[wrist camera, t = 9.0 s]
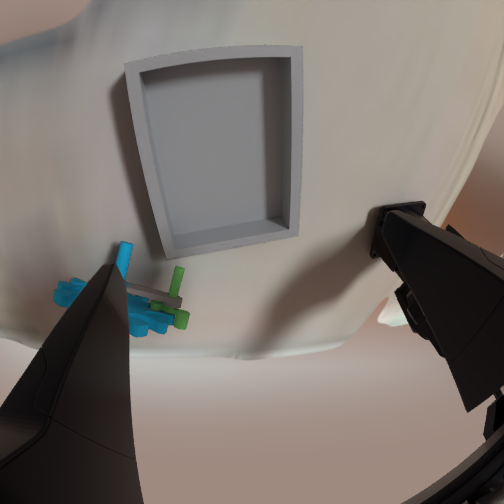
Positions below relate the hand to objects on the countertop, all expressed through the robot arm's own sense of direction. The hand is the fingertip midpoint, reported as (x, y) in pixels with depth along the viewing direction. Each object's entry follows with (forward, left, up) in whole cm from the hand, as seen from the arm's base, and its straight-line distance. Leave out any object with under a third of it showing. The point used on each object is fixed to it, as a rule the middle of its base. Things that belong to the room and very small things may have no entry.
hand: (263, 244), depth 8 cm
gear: (+9, +11, -14) cm, 20 cm away
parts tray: (0, +1, -13) cm, 13 cm away
